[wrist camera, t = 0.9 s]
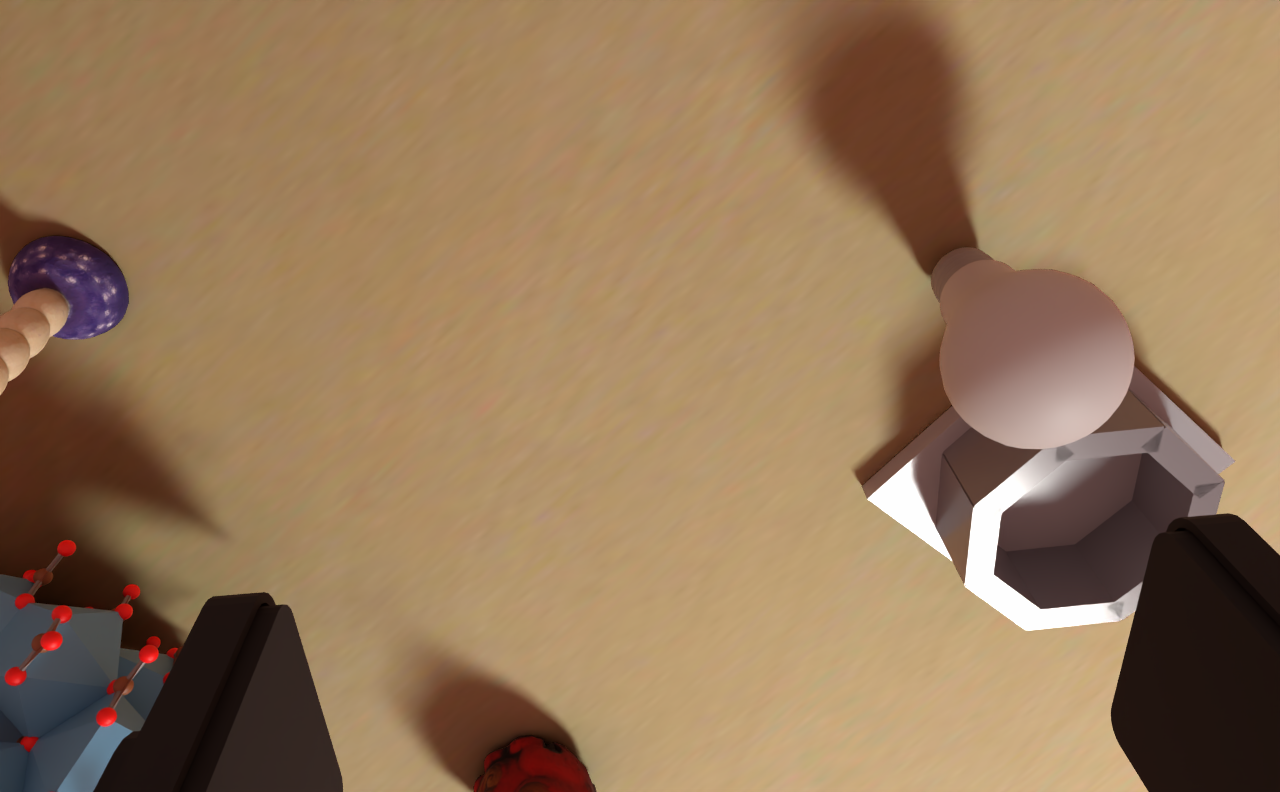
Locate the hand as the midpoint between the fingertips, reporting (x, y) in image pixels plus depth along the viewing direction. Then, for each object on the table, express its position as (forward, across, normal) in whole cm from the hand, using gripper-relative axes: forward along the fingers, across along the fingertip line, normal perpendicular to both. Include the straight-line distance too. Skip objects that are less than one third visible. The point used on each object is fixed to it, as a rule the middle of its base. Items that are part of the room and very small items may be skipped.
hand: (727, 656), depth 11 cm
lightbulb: (+29, -13, +8) cm, 33 cm away
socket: (+29, -18, +18) cm, 39 cm away
